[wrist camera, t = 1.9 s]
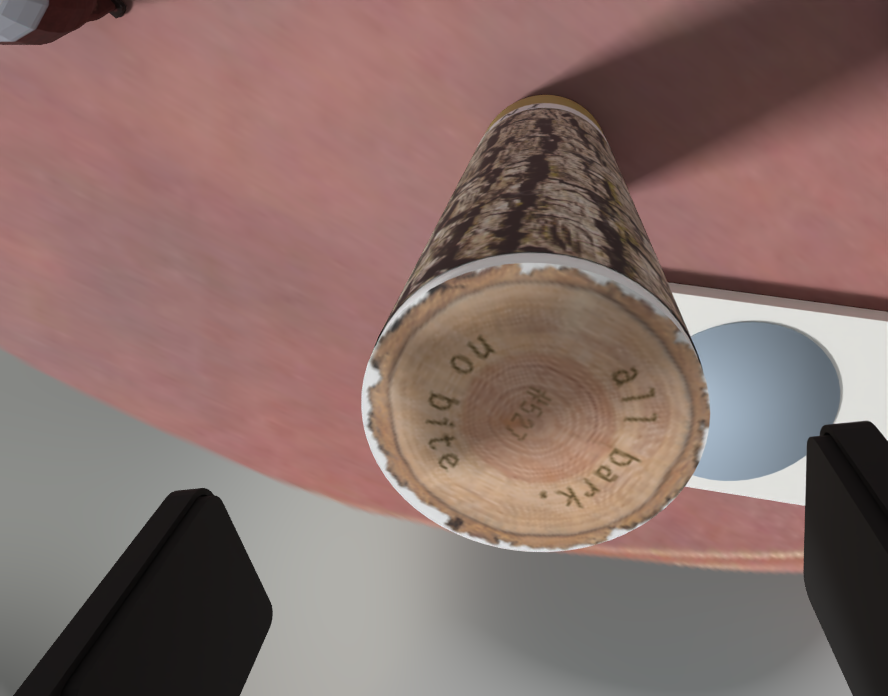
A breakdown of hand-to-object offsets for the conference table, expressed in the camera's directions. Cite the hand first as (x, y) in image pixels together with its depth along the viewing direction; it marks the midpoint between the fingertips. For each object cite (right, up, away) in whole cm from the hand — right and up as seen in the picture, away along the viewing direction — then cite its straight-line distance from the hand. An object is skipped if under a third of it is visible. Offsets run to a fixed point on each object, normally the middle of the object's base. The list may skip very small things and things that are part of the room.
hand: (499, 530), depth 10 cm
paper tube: (+4, +13, +24) cm, 28 cm away
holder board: (+17, 0, +29) cm, 33 cm away
